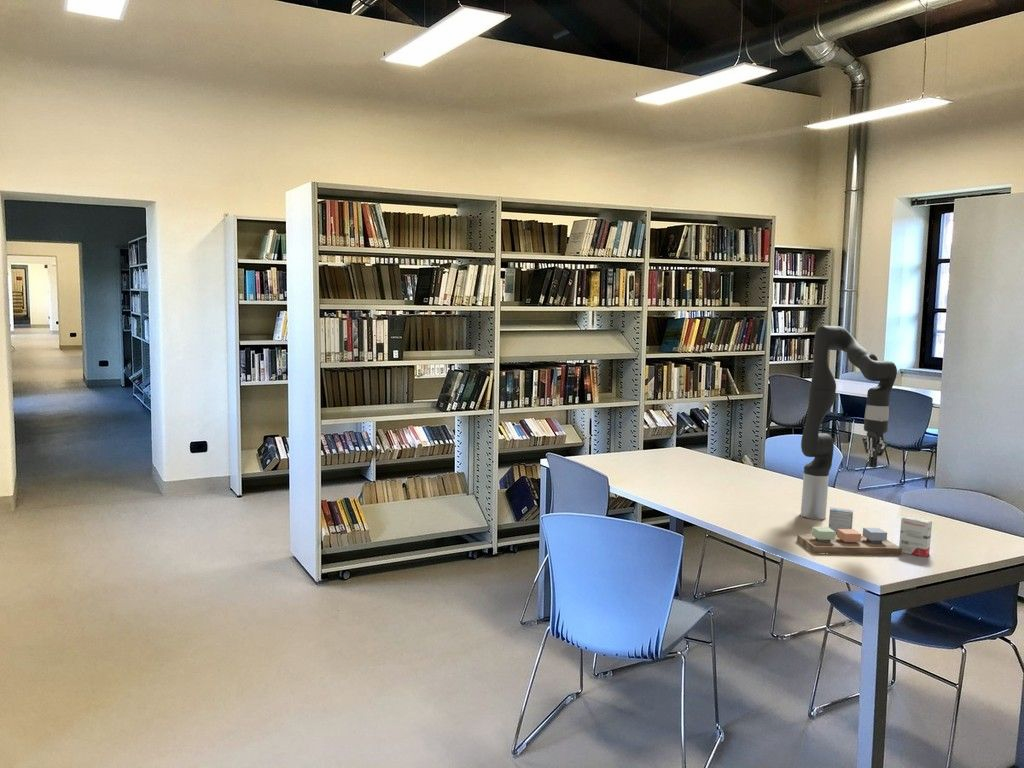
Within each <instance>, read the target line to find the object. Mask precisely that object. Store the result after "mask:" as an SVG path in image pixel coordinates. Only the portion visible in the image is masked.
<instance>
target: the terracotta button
mask: <svg viewBox="0 0 1024 768" xmlns="http://www.w3.org/2000/svg"><path fill="white" fill-rule="evenodd" d="M836 535H837V537H838V538H840V539H841V540H843V541H844V542H861V536H862V533H860V532H859V531H857V530H856V529H853V528H852V529H838V530H837V533H836Z"/></svg>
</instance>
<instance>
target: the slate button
mask: <svg viewBox="0 0 1024 768" xmlns="http://www.w3.org/2000/svg"><path fill="white" fill-rule="evenodd" d="M862 536H864V537H866V538H867V539H869V540H875V541H887V540H888V532H887V531H885V530H883V529H882V528H880V527H863V528H862Z"/></svg>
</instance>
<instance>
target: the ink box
mask: <svg viewBox="0 0 1024 768" xmlns="http://www.w3.org/2000/svg"><path fill="white" fill-rule="evenodd" d="M932 526H933V521H932V520H929V519H922V518H917V517H913V516H904V517H901V521H900V533H899V545H898V546H899V547H900V548H902V553H905V554H909V555H915V556H919V557H923V558H926V557H928V556H929V555H930V550H931V549H930V548H931V538H932Z"/></svg>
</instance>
